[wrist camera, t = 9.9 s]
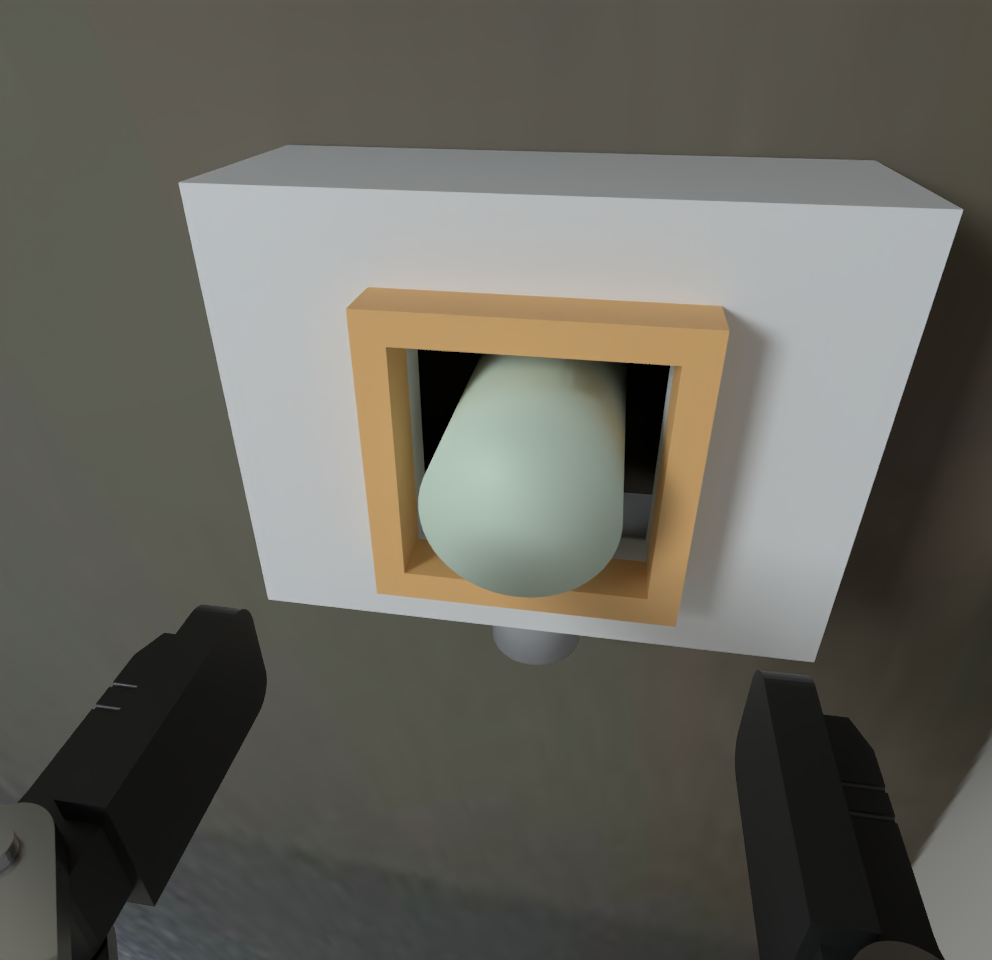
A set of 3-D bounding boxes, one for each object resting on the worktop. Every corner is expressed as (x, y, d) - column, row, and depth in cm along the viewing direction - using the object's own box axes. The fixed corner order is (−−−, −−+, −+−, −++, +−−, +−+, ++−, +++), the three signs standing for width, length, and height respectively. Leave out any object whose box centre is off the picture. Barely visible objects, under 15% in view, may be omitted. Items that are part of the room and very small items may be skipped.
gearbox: (288, 144, 21) (139, 196, 15) (875, 160, 19) (996, 227, 12) (344, 556, 29) (263, 704, 23) (760, 600, 27) (800, 777, 20)
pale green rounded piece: (488, 285, 22) (412, 418, 15) (633, 292, 22) (633, 435, 14) (488, 414, 24) (423, 587, 17) (620, 424, 24) (613, 607, 16)
